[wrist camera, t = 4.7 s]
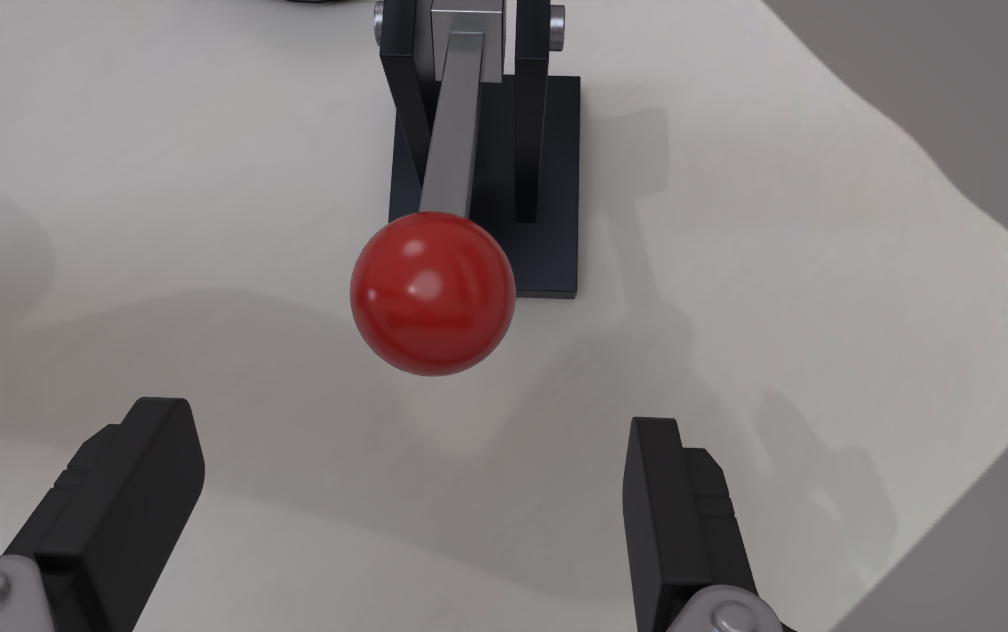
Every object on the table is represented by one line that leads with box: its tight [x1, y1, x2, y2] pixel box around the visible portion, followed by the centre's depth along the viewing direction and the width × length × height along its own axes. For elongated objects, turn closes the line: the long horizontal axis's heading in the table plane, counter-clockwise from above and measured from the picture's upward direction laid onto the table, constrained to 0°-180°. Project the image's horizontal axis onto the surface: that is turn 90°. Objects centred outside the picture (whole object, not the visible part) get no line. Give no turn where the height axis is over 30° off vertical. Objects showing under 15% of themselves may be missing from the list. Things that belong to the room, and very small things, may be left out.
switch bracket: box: [374, 0, 581, 299], centre depth 31 cm, size 11×9×16 cm
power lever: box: [350, 0, 516, 377], centre depth 21 cm, size 15×4×4 cm, turn 177°
